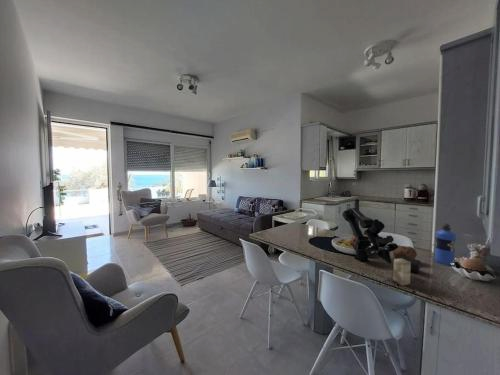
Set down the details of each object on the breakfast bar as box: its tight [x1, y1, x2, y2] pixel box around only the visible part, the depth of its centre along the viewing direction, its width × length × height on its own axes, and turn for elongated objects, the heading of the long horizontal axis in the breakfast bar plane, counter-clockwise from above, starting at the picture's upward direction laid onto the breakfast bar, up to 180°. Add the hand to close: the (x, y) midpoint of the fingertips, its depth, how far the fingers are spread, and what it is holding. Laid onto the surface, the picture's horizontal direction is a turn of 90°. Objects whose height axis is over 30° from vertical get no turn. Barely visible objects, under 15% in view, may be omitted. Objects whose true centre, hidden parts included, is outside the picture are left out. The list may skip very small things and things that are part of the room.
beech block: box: [392, 258, 411, 286], centre depth 107 cm, size 5×5×12 cm
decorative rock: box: [392, 245, 418, 260], centre depth 134 cm, size 13×11×10 cm
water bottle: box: [434, 222, 457, 266], centre depth 130 cm, size 9×9×25 cm
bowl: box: [331, 235, 376, 256], centre depth 156 cm, size 30×30×8 cm
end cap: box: [398, 257, 422, 274], centre depth 121 cm, size 10×7×7 cm
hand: (390, 263), depth 113 cm, fingers closed
